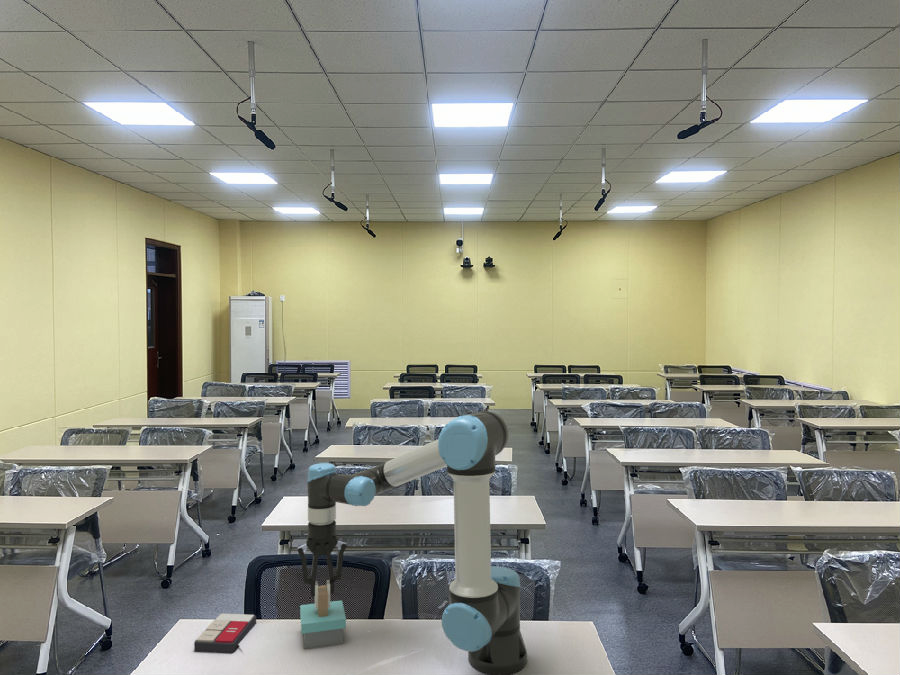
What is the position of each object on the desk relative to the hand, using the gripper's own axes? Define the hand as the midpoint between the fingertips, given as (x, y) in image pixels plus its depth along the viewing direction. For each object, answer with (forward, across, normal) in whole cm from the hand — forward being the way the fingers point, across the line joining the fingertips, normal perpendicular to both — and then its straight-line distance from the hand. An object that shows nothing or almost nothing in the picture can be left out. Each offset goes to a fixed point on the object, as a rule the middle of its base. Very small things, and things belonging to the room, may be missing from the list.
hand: (322, 606), depth 165 cm
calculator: (+10, +26, -9) cm, 29 cm away
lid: (+4, 0, 0) cm, 4 cm away
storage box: (+10, 0, 0) cm, 10 cm away
